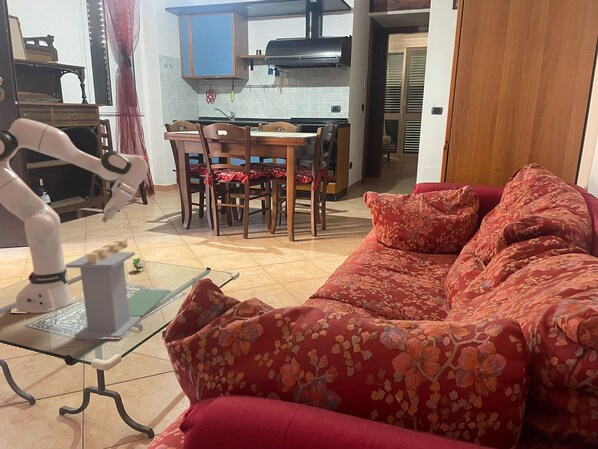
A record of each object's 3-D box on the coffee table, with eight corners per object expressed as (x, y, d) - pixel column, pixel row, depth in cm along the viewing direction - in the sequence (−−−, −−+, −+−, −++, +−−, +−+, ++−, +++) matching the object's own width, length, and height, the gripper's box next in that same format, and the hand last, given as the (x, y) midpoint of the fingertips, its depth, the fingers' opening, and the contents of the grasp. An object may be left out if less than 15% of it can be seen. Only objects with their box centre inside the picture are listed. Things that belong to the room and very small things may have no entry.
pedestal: (100, 319, 166) (92, 252, 161) (141, 320, 164) (134, 252, 159) (75, 339, 150) (65, 264, 145) (120, 339, 149) (112, 264, 144)
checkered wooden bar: (120, 246, 168) (119, 238, 167) (127, 246, 168) (126, 238, 167) (87, 263, 146) (86, 254, 146) (96, 263, 146) (95, 254, 145)
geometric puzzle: (126, 267, 226) (131, 256, 222) (136, 263, 231) (142, 253, 228) (134, 277, 224) (140, 266, 220) (145, 273, 230) (151, 262, 226)
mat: (139, 291, 196) (139, 290, 196) (170, 291, 195) (170, 290, 194) (107, 316, 169) (106, 315, 168) (142, 317, 167) (142, 315, 167)
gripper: (110, 191, 189) (93, 219, 184) (122, 182, 173) (104, 212, 167) (123, 199, 192) (107, 227, 187) (137, 191, 176) (120, 221, 170)
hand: (106, 220), depth 177 cm, fingers open, 8 cm apart
